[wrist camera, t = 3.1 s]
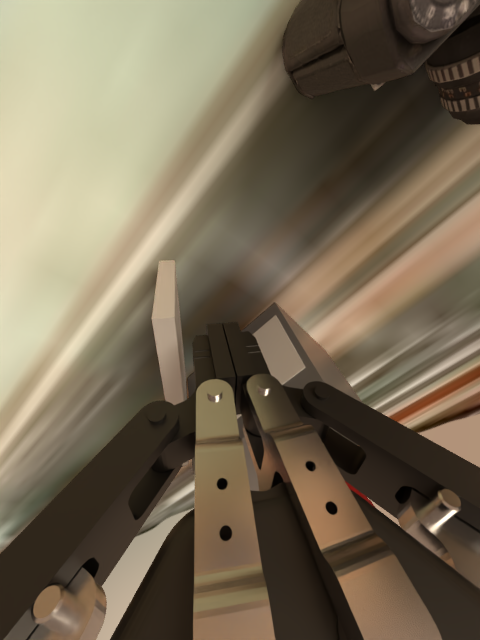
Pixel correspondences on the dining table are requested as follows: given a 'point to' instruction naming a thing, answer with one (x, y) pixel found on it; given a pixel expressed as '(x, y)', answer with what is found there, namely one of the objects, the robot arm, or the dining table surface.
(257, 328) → the camera body
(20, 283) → the dining table surface
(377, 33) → the camera
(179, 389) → the side door
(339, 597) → the robot arm
